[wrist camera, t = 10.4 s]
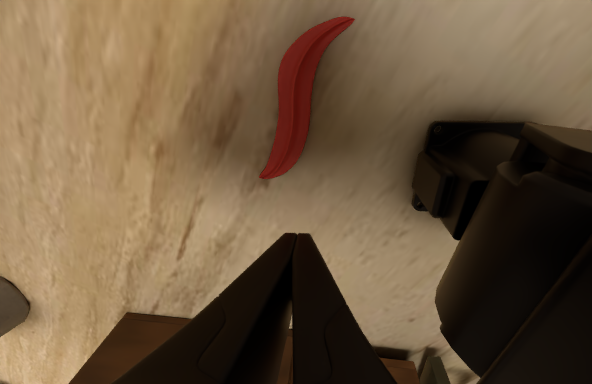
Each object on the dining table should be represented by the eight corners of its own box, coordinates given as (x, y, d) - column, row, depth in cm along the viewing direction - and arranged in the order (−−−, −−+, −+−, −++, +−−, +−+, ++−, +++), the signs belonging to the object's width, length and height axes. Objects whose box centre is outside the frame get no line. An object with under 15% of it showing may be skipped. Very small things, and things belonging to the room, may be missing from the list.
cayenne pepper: (323, -9, 14) (323, -19, 13) (385, 46, 15) (392, 43, 14) (224, 153, 19) (214, 162, 18) (274, 188, 20) (269, 199, 19)
